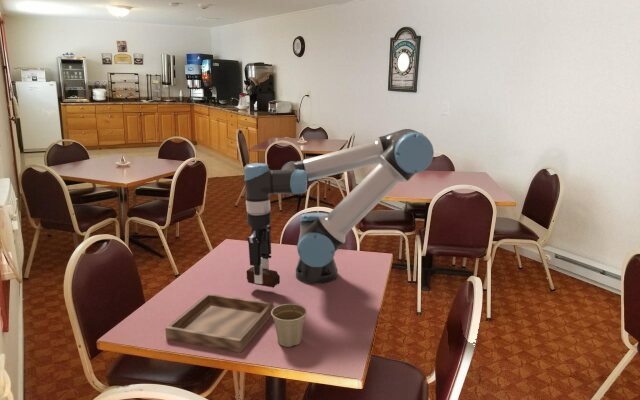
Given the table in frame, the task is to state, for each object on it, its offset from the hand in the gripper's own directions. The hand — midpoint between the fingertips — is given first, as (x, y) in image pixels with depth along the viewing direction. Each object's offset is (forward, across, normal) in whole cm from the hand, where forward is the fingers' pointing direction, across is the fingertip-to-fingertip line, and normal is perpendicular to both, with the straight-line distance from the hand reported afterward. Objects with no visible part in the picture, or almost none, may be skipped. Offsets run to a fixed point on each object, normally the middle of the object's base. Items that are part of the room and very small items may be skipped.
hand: (262, 279), depth 152 cm
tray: (+4, +24, -2) cm, 25 cm away
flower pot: (+4, +26, +19) cm, 33 cm away
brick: (+1, 0, 0) cm, 2 cm away
